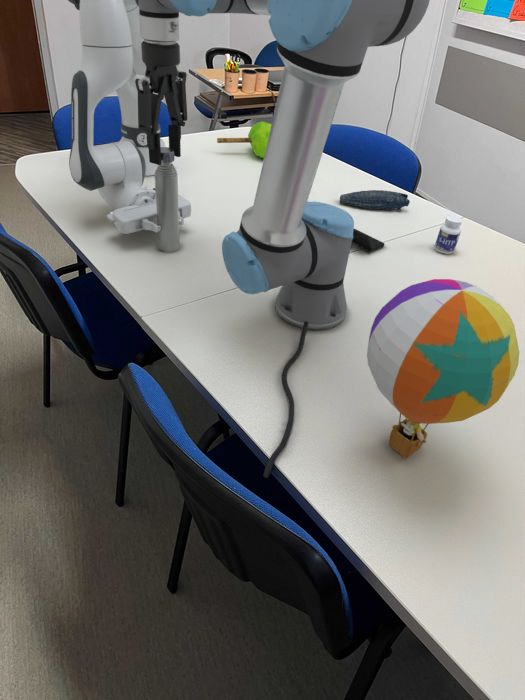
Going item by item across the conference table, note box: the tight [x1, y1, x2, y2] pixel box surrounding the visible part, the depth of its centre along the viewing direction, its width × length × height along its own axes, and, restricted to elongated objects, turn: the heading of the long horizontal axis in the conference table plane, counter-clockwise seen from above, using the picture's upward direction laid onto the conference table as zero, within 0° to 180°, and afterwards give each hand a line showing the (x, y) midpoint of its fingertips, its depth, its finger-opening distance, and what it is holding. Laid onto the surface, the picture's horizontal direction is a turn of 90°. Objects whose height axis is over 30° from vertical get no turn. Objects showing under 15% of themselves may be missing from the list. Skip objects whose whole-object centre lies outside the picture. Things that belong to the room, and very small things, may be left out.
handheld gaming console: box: [351, 228, 385, 253], centre depth 138 cm, size 12×7×10 cm
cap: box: [161, 146, 175, 163], centre depth 116 cm, size 4×4×2 cm
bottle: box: [154, 162, 180, 253], centre depth 123 cm, size 5×5×24 cm
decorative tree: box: [216, 121, 272, 159], centre depth 186 cm, size 18×10×30 cm
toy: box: [366, 278, 520, 459], centre depth 74 cm, size 20×20×30 cm
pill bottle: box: [434, 215, 463, 255], centre depth 137 cm, size 5×5×9 cm
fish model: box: [339, 189, 411, 211], centre depth 158 cm, size 7×21×5 cm, turn 84°
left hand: (170, 225), depth 126 cm, fingers closed on bottle, 5 cm apart
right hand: (165, 159), depth 117 cm, fingers open, 6 cm apart
